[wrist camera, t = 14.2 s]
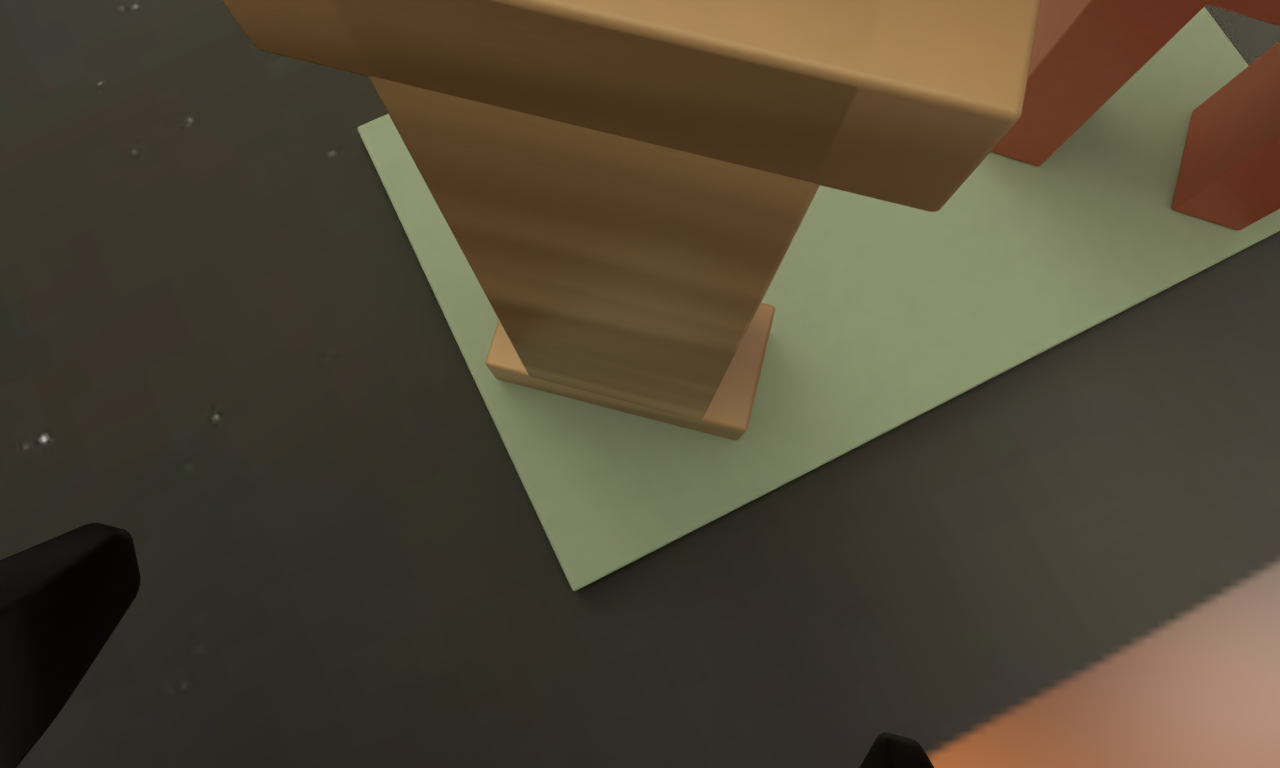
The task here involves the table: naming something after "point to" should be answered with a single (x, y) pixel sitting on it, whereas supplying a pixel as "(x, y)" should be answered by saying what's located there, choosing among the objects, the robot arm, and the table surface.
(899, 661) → the table surface
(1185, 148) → the letter H
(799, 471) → the word mat
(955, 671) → the table surface
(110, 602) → the robot arm
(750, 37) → the letter I
